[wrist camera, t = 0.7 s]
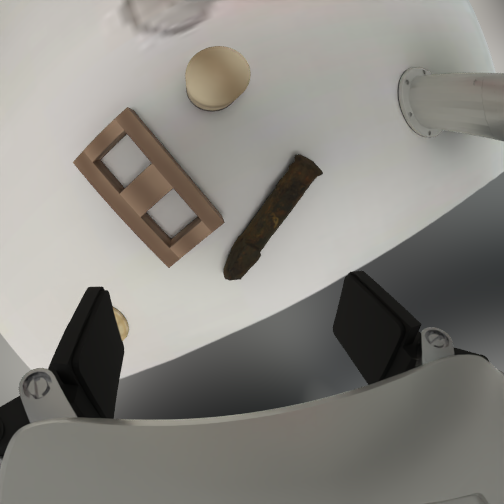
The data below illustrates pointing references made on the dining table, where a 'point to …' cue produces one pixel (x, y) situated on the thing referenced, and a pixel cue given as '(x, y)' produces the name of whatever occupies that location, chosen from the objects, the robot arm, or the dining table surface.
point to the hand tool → (270, 217)
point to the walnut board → (148, 188)
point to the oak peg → (216, 78)
